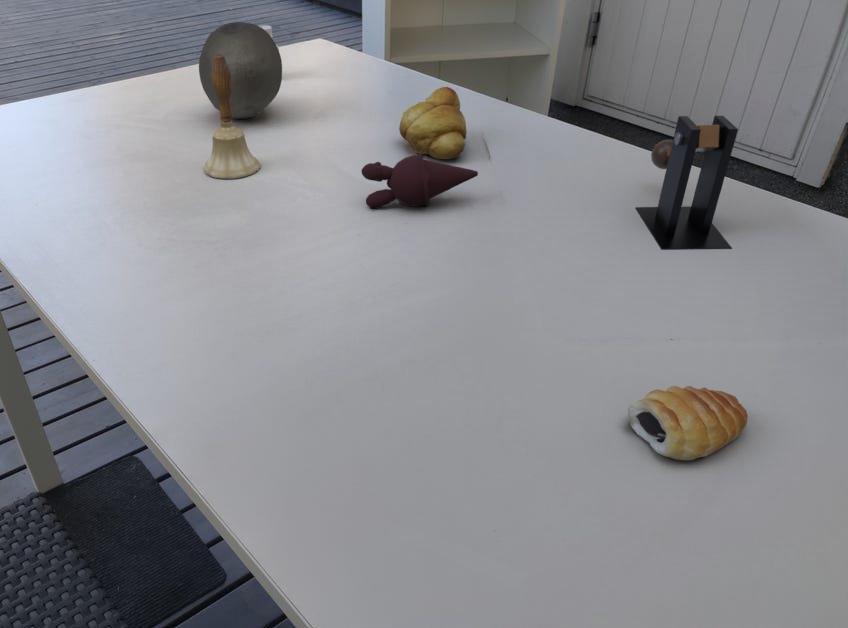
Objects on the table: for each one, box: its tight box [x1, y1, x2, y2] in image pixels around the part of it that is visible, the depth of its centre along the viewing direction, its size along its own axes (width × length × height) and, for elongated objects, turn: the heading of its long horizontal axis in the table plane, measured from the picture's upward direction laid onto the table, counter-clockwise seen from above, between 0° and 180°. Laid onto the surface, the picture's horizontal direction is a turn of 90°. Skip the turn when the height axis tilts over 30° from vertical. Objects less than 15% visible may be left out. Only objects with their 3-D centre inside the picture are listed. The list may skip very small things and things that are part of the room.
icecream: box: [361, 152, 479, 209], centre depth 97 cm, size 7×7×15 cm
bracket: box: [634, 115, 739, 251], centre depth 86 cm, size 11×8×14 cm
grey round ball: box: [198, 21, 283, 120], centre depth 123 cm, size 14×14×15 cm
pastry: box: [627, 385, 749, 461], centre depth 61 cm, size 9×7×4 cm
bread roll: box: [398, 86, 468, 160], centre depth 111 cm, size 13×10×8 cm
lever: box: [650, 124, 720, 170], centre depth 88 cm, size 14×4×4 cm
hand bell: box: [203, 54, 262, 180], centre depth 105 cm, size 8×8×16 cm
